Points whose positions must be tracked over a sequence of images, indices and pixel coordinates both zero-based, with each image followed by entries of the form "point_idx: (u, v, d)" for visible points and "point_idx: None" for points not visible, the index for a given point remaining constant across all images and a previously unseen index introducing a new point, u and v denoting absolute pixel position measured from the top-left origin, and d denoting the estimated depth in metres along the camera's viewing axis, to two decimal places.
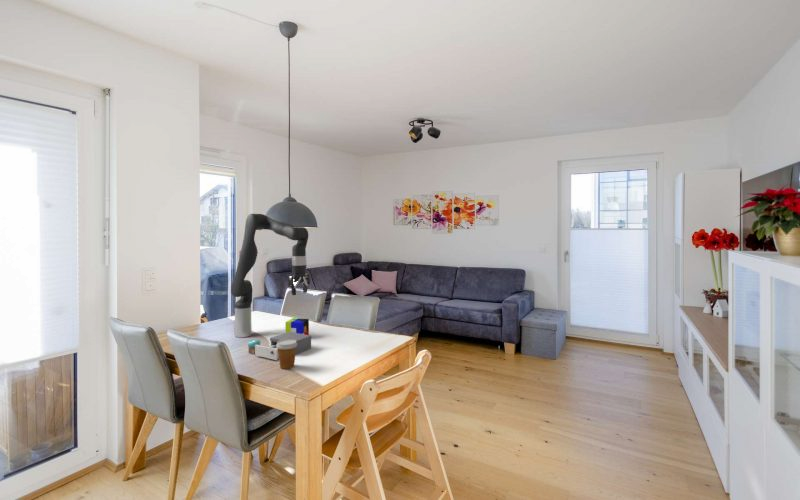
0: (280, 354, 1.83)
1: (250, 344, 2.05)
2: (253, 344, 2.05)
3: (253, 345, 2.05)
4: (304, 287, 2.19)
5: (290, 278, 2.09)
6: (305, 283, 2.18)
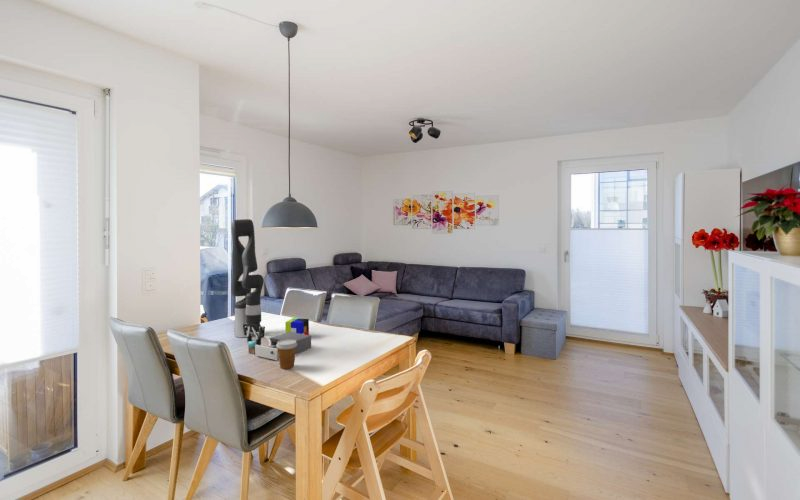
0: (280, 354, 1.83)
1: (250, 344, 2.05)
2: (253, 344, 2.05)
3: (253, 345, 2.05)
4: (250, 338, 2.09)
5: (263, 329, 2.04)
6: None
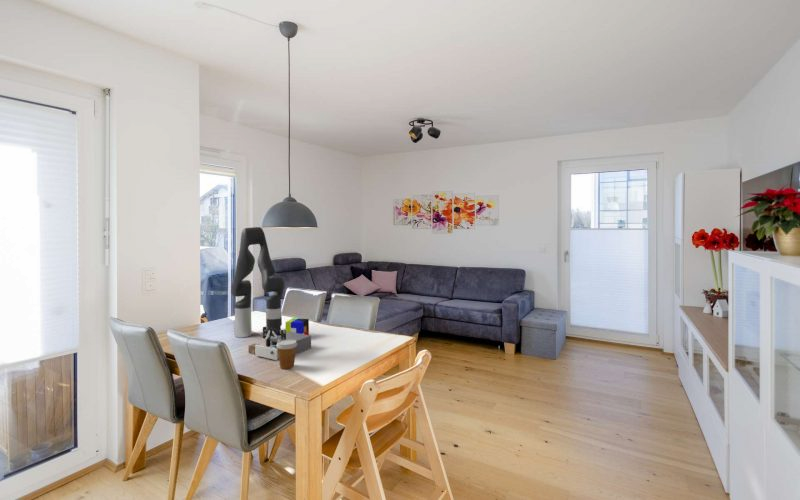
0: (280, 354, 1.83)
1: None
2: None
3: None
4: (268, 341, 2.04)
5: (284, 332, 1.99)
6: None
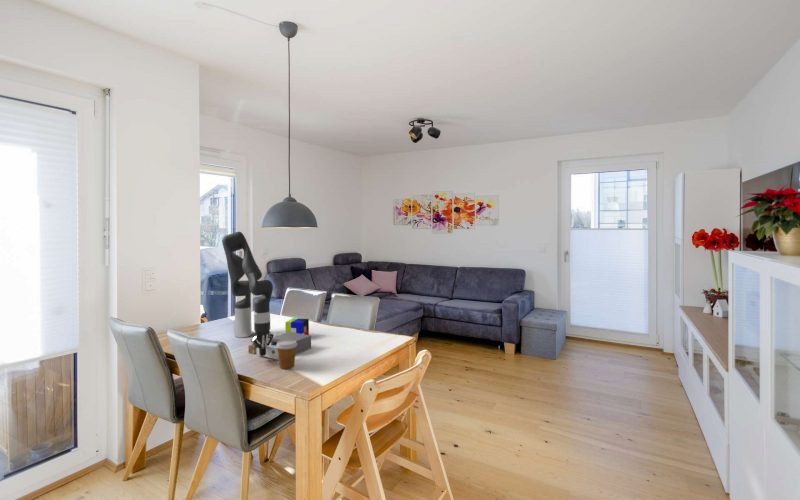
0: (280, 354, 1.83)
1: None
2: None
3: None
4: None
5: None
6: None
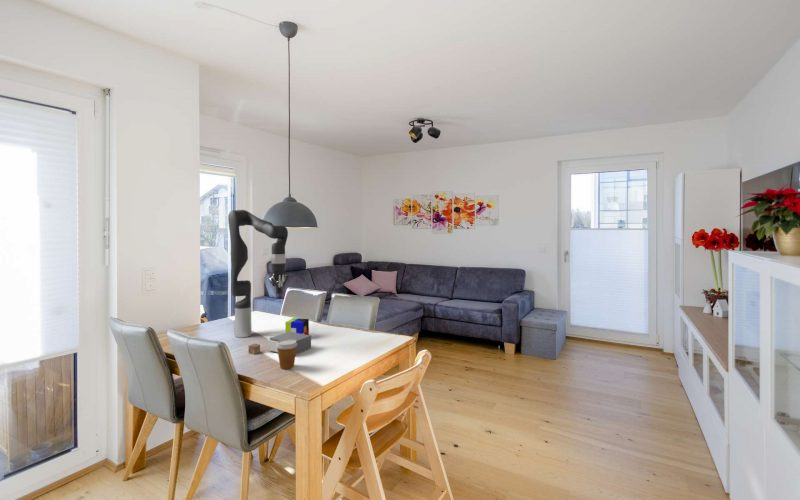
0: (280, 354, 1.83)
1: None
2: None
3: None
4: None
5: None
6: (276, 283, 2.17)
